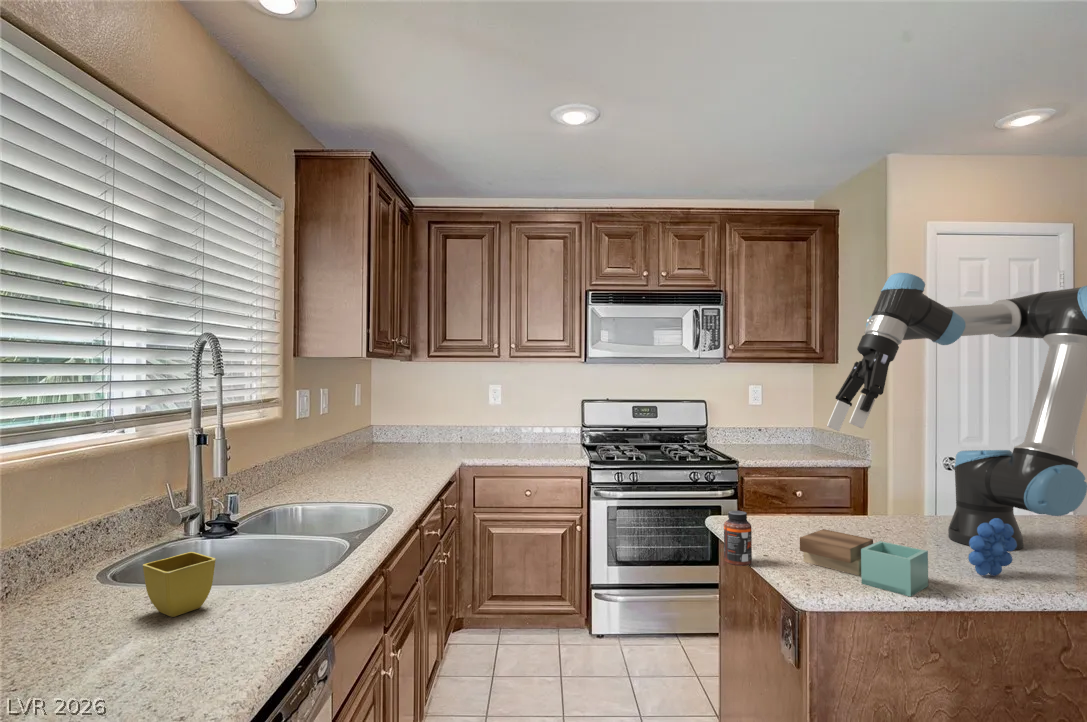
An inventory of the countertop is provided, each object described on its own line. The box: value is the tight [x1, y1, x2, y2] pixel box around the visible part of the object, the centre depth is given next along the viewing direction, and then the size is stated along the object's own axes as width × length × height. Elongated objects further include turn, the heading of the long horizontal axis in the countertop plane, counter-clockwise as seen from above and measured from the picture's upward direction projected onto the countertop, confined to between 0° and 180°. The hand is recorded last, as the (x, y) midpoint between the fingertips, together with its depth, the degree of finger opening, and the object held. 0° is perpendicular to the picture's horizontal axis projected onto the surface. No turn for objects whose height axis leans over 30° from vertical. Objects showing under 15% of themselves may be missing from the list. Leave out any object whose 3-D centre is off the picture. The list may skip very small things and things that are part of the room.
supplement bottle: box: [723, 510, 753, 567], centre depth 134 cm, size 6×6×11 cm
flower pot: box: [142, 551, 216, 618], centre depth 108 cm, size 9×9×9 cm
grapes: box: [967, 518, 1017, 577], centre depth 126 cm, size 12×7×12 cm, turn 103°
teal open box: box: [860, 540, 929, 598], centre depth 120 cm, size 9×9×7 cm
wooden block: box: [802, 552, 861, 576], centre depth 132 cm, size 6×12×3 cm, turn 39°
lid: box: [799, 528, 874, 563], centre depth 132 cm, size 11×11×3 cm
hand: (843, 427), depth 129 cm, fingers open, 13 cm apart
